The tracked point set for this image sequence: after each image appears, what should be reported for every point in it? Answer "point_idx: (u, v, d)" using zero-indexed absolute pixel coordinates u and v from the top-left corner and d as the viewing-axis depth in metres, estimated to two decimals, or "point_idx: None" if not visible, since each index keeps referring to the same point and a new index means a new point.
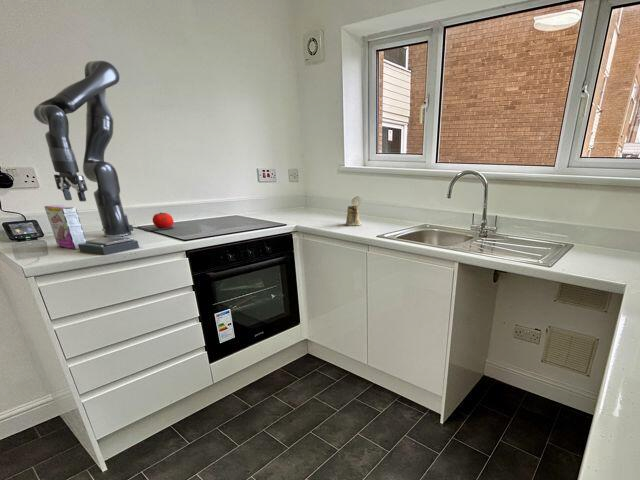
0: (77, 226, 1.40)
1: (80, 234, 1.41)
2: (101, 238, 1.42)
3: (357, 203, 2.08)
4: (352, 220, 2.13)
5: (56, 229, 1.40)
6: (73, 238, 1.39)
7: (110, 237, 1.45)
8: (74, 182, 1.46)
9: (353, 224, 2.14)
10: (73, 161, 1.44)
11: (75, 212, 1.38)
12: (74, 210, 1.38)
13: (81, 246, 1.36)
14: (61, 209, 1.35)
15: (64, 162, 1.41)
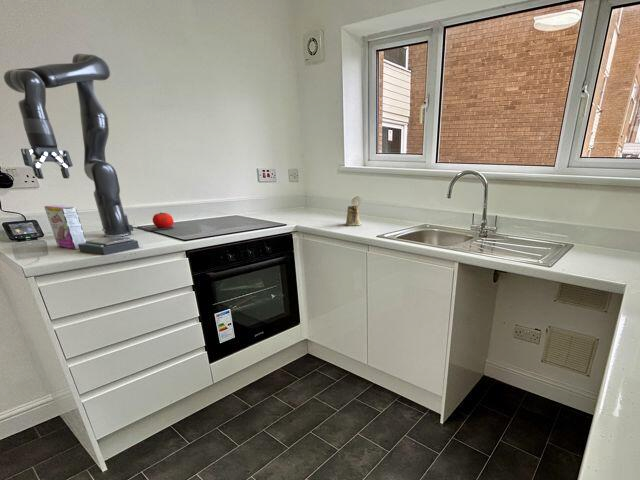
0: (77, 226, 1.40)
1: (80, 234, 1.41)
2: (101, 238, 1.42)
3: (357, 203, 2.08)
4: (352, 220, 2.13)
5: (56, 229, 1.40)
6: (73, 238, 1.39)
7: (110, 237, 1.45)
8: (37, 157, 1.30)
9: (353, 224, 2.14)
10: (30, 133, 1.27)
11: (75, 212, 1.38)
12: (74, 210, 1.38)
13: (81, 246, 1.36)
14: (61, 209, 1.35)
15: None
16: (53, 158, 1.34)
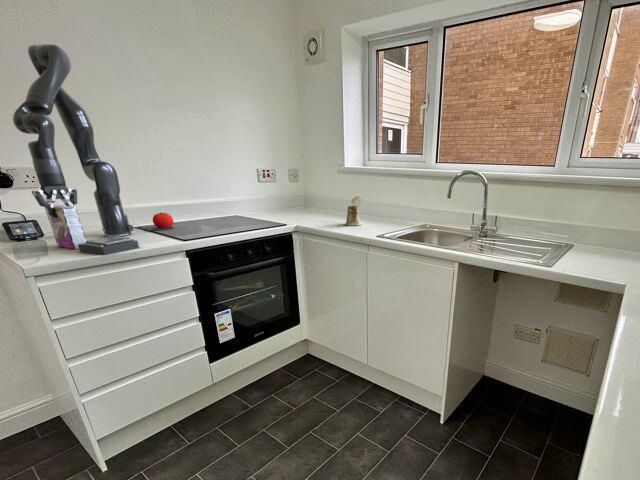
0: (77, 226, 1.40)
1: (80, 234, 1.41)
2: (101, 238, 1.42)
3: (357, 203, 2.08)
4: (352, 220, 2.13)
5: (56, 229, 1.40)
6: (73, 238, 1.39)
7: (110, 237, 1.45)
8: (46, 195, 1.34)
9: (353, 224, 2.14)
10: (40, 173, 1.30)
11: (75, 212, 1.38)
12: (74, 210, 1.38)
13: (81, 246, 1.36)
14: (61, 209, 1.35)
15: (36, 173, 1.31)
16: (60, 195, 1.37)
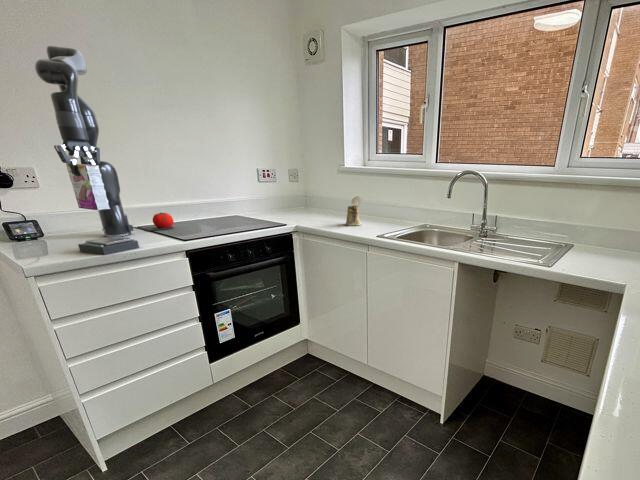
0: (100, 186, 1.33)
1: (103, 194, 1.34)
2: (101, 238, 1.42)
3: (357, 203, 2.08)
4: (352, 220, 2.13)
5: (77, 189, 1.33)
6: (95, 198, 1.32)
7: (110, 237, 1.45)
8: (69, 151, 1.27)
9: (353, 224, 2.14)
10: (62, 126, 1.23)
11: (98, 171, 1.32)
12: (97, 168, 1.31)
13: (81, 246, 1.36)
14: (84, 166, 1.28)
15: None
16: (83, 152, 1.30)
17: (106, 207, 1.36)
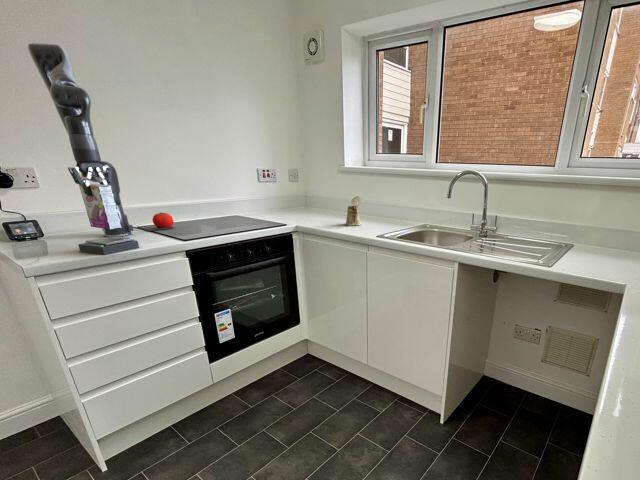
0: (112, 206, 1.36)
1: (115, 214, 1.37)
2: (101, 238, 1.42)
3: (357, 203, 2.08)
4: (352, 220, 2.13)
5: (90, 209, 1.36)
6: (108, 218, 1.35)
7: (110, 237, 1.45)
8: (82, 172, 1.30)
9: (353, 224, 2.14)
10: (76, 149, 1.26)
11: (110, 191, 1.34)
12: (109, 189, 1.34)
13: (81, 246, 1.36)
14: (97, 187, 1.31)
15: (72, 149, 1.27)
16: (95, 173, 1.33)
17: (118, 226, 1.39)
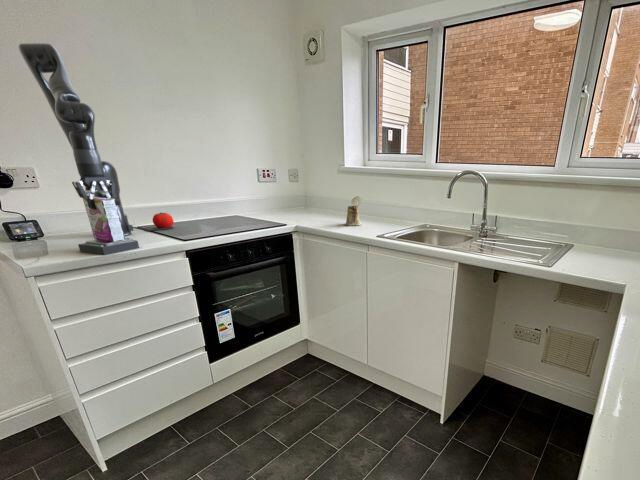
0: (116, 218, 1.38)
1: (118, 226, 1.39)
2: None
3: (357, 203, 2.08)
4: (352, 220, 2.13)
5: (94, 221, 1.37)
6: (111, 231, 1.37)
7: None
8: (86, 186, 1.31)
9: (353, 224, 2.14)
10: (80, 163, 1.28)
11: (114, 204, 1.36)
12: (113, 202, 1.36)
13: (81, 246, 1.36)
14: (101, 201, 1.32)
15: (76, 164, 1.29)
16: (99, 186, 1.34)
17: (121, 238, 1.41)
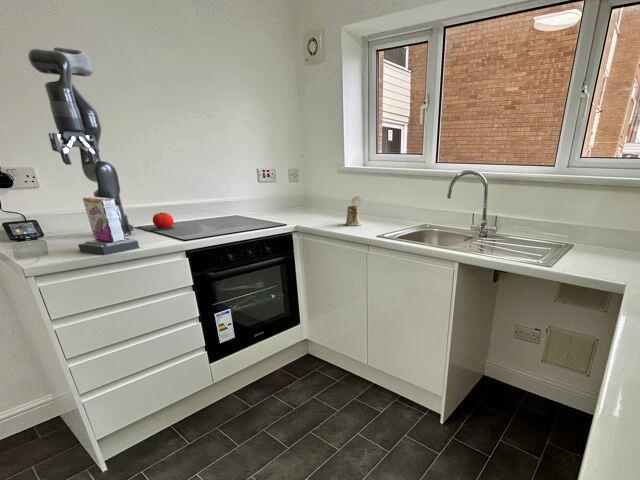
0: (116, 219, 1.38)
1: (118, 226, 1.39)
2: None
3: (357, 203, 2.08)
4: (352, 220, 2.13)
5: (94, 222, 1.37)
6: (111, 231, 1.37)
7: None
8: (65, 142, 1.26)
9: (353, 224, 2.14)
10: (58, 117, 1.23)
11: (114, 204, 1.36)
12: (113, 202, 1.36)
13: (81, 246, 1.36)
14: (100, 201, 1.32)
15: None
16: (80, 143, 1.30)
17: (121, 238, 1.41)
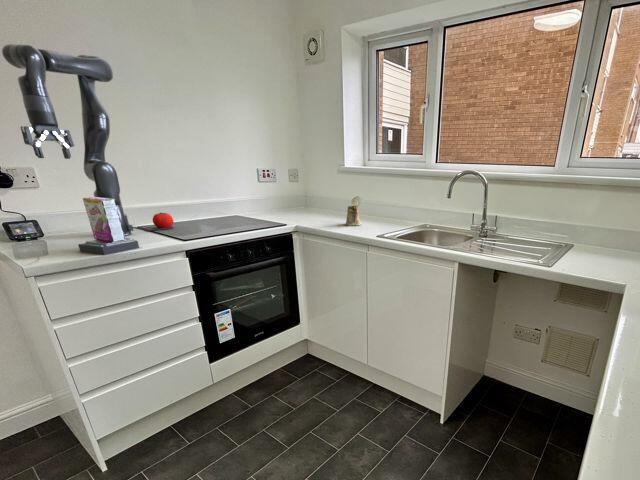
0: (116, 219, 1.38)
1: (118, 227, 1.39)
2: None
3: (357, 203, 2.08)
4: (352, 220, 2.13)
5: (94, 222, 1.37)
6: (111, 231, 1.37)
7: None
8: (37, 135, 1.27)
9: (353, 224, 2.14)
10: (30, 110, 1.24)
11: (114, 204, 1.36)
12: (113, 202, 1.36)
13: (81, 246, 1.36)
14: (100, 201, 1.32)
15: (26, 111, 1.25)
16: (54, 137, 1.31)
17: (121, 238, 1.41)
